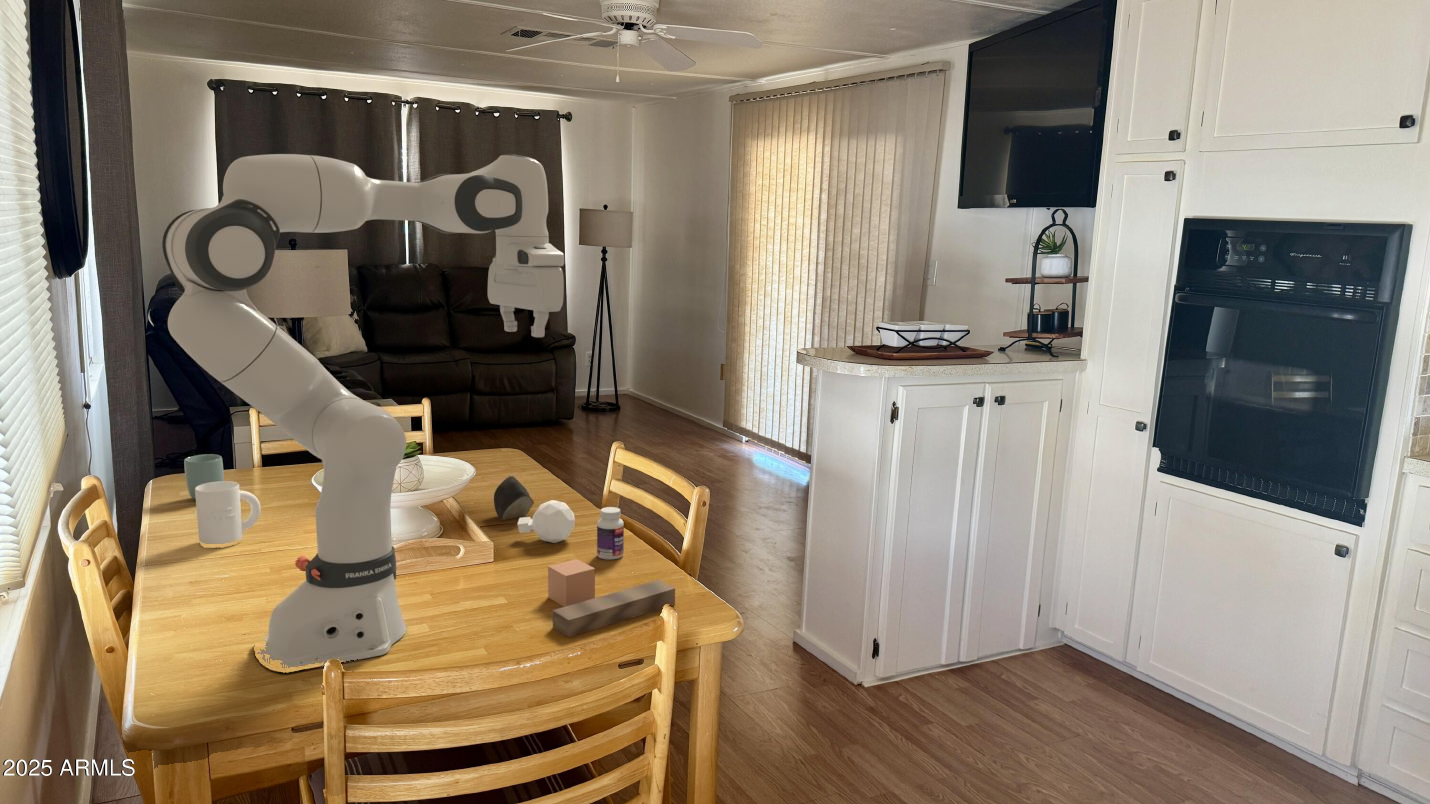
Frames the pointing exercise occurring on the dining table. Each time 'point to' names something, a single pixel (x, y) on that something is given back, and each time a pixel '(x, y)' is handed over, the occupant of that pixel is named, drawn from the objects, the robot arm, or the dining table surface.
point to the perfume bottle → (549, 522)
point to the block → (571, 582)
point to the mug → (223, 512)
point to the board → (612, 608)
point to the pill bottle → (610, 534)
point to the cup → (202, 471)
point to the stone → (512, 499)
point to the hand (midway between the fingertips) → (524, 334)
